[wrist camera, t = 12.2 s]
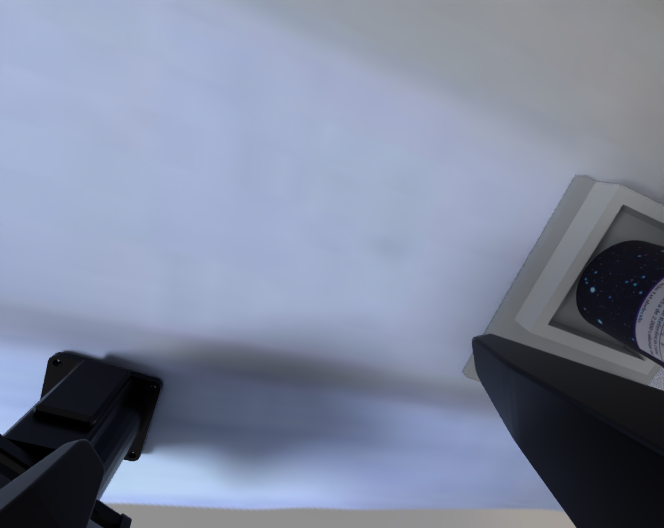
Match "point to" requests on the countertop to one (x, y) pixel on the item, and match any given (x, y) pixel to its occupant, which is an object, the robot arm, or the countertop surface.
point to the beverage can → (626, 296)
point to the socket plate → (563, 273)
